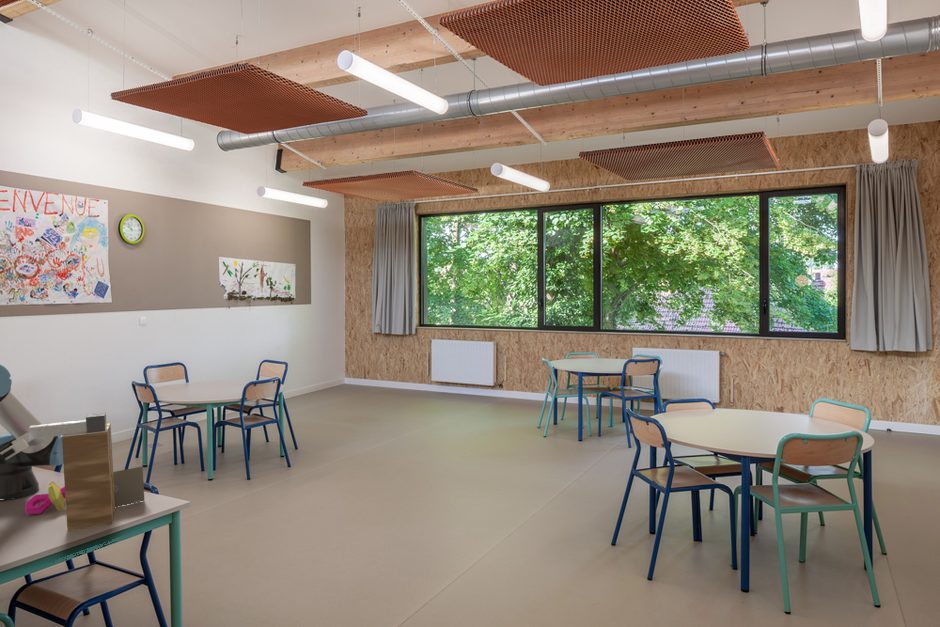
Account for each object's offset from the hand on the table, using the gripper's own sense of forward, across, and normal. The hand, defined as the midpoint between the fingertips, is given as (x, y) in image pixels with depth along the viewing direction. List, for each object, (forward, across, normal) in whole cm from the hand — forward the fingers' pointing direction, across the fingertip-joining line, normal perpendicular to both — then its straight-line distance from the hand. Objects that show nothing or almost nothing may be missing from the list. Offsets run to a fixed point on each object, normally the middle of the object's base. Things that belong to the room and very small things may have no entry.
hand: (31, 437), depth 182 cm
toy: (-14, -24, -27) cm, 39 cm away
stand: (-3, -4, -33) cm, 34 cm away
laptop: (0, -20, -36) cm, 41 cm away
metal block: (+8, -1, -5) cm, 10 cm away
